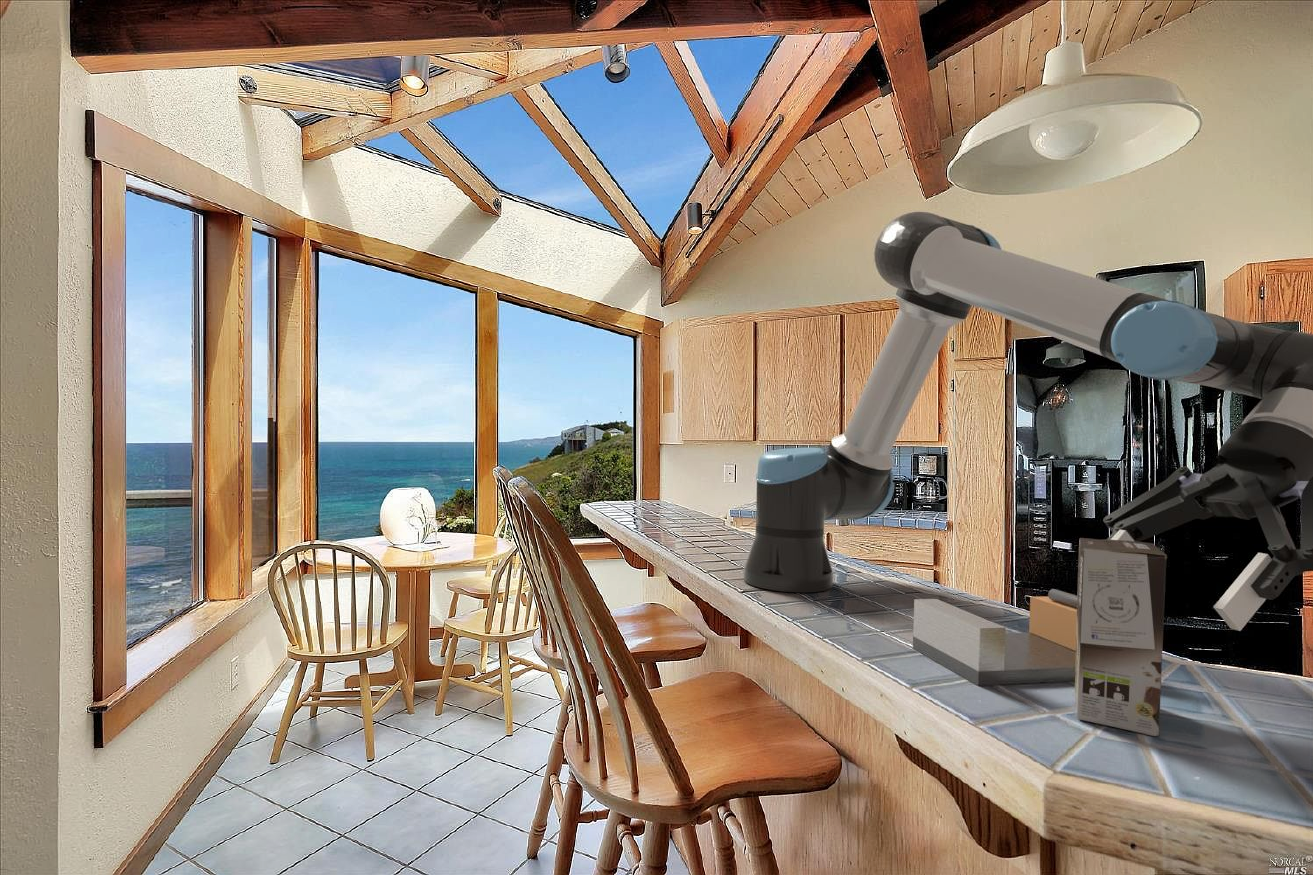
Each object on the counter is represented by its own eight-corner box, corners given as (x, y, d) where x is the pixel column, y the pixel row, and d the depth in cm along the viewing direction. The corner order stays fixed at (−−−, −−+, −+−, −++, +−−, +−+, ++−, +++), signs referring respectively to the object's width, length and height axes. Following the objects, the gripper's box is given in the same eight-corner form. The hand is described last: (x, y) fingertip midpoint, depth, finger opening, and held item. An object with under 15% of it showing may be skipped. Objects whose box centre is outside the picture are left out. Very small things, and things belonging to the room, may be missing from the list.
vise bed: (912, 648, 81) (914, 599, 81) (1054, 643, 84) (1056, 596, 84) (978, 685, 69) (980, 628, 69) (1139, 678, 73) (1141, 623, 73)
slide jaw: (1029, 632, 84) (1030, 585, 84) (1049, 631, 84) (1051, 584, 84) (1110, 665, 72) (1112, 610, 72) (1134, 664, 72) (1136, 610, 72)
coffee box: (1162, 739, 58) (1169, 554, 58) (1075, 720, 61) (1081, 546, 61) (1150, 704, 65) (1155, 541, 65) (1073, 689, 69) (1078, 534, 69)
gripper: (1479, 481, 54) (1329, 672, 51) (1181, 465, 78) (1069, 594, 75) (1432, 414, 53) (1277, 606, 50) (1145, 419, 77) (1030, 548, 74)
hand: (1151, 599), depth 63 cm, fingers open, 13 cm apart
